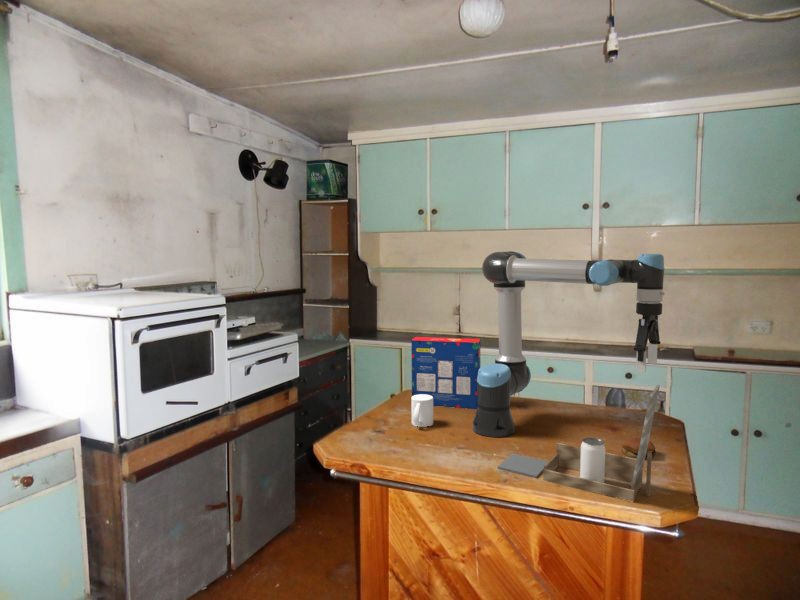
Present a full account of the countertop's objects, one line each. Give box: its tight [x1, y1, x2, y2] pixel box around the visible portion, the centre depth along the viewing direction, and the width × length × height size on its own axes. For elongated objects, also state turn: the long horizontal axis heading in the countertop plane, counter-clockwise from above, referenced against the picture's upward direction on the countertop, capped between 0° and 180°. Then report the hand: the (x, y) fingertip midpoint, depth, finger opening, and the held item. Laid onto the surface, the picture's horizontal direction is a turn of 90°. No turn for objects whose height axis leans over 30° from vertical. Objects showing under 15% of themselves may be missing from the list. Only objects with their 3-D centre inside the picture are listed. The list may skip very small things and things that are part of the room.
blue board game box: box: [411, 336, 481, 410], centre depth 220 cm, size 28×8×28 cm, turn 76°
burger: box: [621, 437, 657, 459], centre depth 167 cm, size 10×9×5 cm
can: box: [579, 437, 606, 483], centre depth 147 cm, size 6×6×12 cm
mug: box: [410, 394, 434, 428], centre depth 196 cm, size 8×10×12 cm
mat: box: [497, 453, 549, 479], centre depth 159 cm, size 12×12×1 cm
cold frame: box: [542, 384, 661, 502], centre depth 145 cm, size 28×12×29 cm, turn 55°
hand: (646, 367), depth 169 cm, fingers open, 13 cm apart
